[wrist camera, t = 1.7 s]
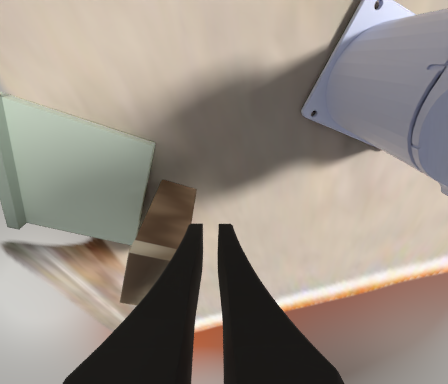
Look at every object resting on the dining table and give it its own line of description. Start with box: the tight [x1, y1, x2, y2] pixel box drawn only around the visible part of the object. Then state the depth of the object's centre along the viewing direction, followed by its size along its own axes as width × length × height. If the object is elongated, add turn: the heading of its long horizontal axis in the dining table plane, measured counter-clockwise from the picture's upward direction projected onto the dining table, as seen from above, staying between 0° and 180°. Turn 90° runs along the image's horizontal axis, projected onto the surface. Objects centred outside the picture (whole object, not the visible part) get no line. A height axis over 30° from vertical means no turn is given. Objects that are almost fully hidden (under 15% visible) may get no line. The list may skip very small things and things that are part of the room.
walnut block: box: [120, 179, 197, 305], centre depth 18 cm, size 4×6×9 cm, turn 159°
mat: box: [0, 92, 156, 246], centre depth 19 cm, size 12×13×2 cm
